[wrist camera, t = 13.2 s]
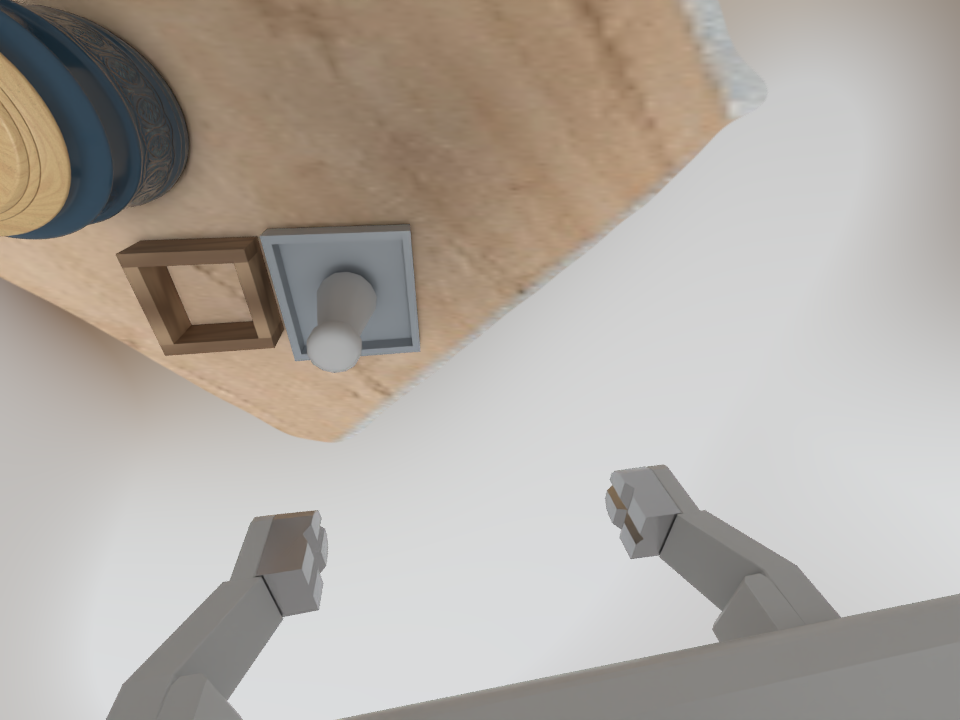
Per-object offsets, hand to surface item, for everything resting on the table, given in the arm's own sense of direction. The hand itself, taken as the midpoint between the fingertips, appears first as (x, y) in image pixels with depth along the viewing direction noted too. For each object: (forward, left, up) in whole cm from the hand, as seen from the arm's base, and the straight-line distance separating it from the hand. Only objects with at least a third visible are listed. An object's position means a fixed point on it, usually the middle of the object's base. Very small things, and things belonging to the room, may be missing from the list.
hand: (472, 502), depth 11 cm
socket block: (+7, -21, -35) cm, 41 cm away
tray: (+8, -8, -35) cm, 37 cm away
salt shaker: (+8, -8, -35) cm, 36 cm away
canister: (-8, -25, -35) cm, 44 cm away
